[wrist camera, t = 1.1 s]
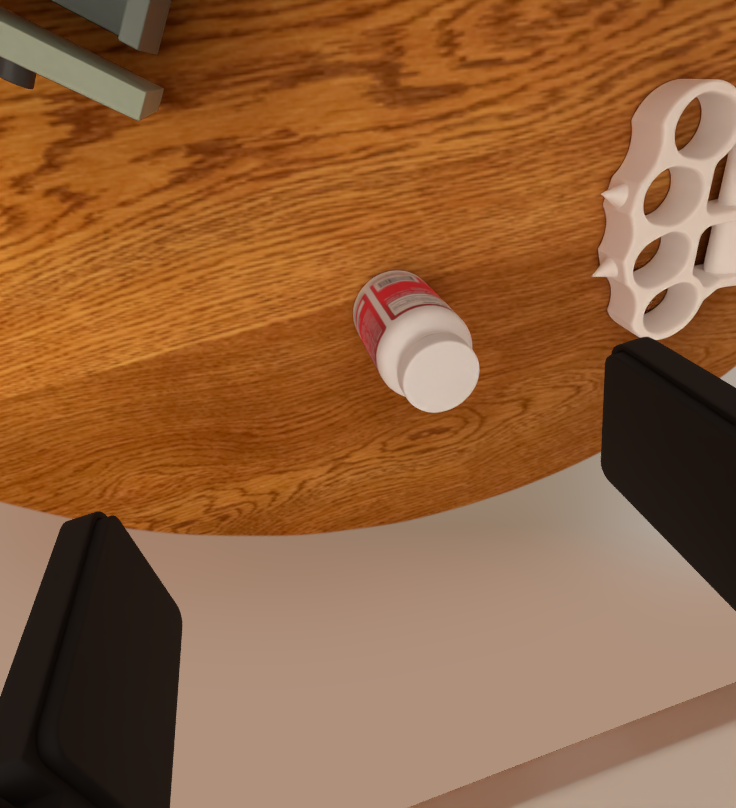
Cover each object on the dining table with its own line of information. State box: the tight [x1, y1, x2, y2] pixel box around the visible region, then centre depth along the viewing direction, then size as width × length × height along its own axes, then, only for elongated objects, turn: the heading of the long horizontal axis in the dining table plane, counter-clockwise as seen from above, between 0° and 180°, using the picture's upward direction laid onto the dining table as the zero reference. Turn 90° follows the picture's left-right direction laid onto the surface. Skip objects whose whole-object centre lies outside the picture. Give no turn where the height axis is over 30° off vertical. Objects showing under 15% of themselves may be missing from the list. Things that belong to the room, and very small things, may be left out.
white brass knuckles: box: [592, 79, 736, 340], centre depth 39 cm, size 3×18×15 cm
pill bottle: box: [353, 270, 479, 412], centre depth 35 cm, size 6×6×11 cm
